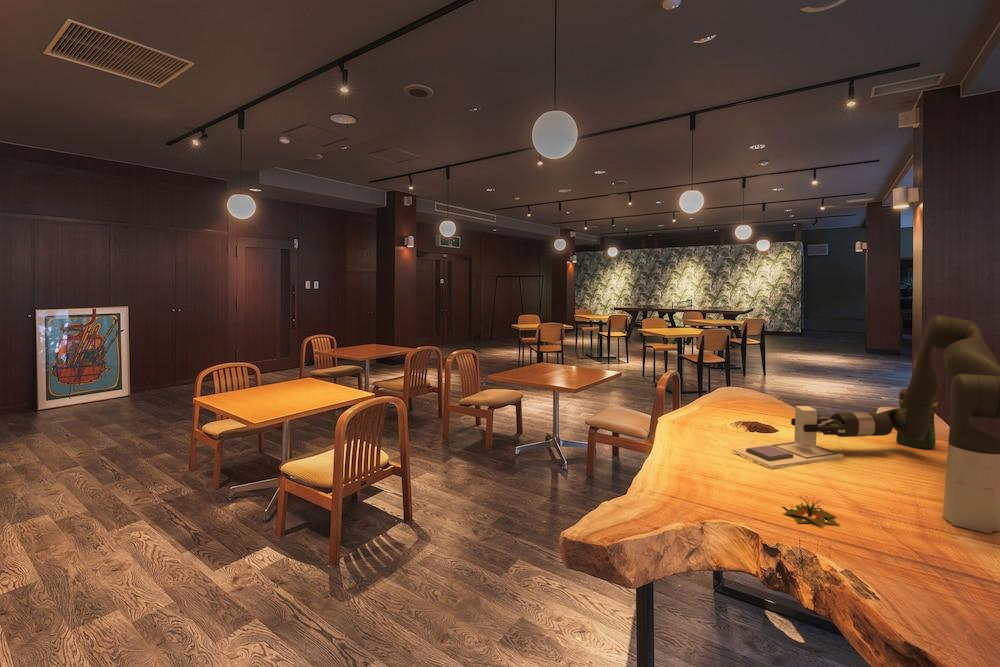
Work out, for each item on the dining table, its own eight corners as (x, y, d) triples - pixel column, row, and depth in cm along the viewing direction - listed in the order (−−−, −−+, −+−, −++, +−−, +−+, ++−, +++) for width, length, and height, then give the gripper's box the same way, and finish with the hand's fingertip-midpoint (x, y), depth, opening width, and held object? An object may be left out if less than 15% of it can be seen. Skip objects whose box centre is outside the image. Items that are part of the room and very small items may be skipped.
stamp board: (800, 443, 164) (800, 436, 164) (843, 458, 149) (843, 451, 149) (732, 452, 155) (732, 445, 155) (771, 469, 141) (771, 461, 141)
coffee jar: (938, 446, 158) (942, 390, 157) (928, 451, 154) (932, 393, 153) (902, 439, 167) (906, 385, 165) (891, 443, 163) (895, 388, 161)
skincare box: (816, 448, 151) (817, 410, 150) (801, 448, 152) (802, 410, 151) (808, 442, 157) (809, 405, 156) (793, 441, 158) (794, 405, 157)
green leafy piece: (792, 529, 108) (793, 509, 107) (771, 505, 120) (772, 487, 119) (852, 532, 106) (853, 512, 106) (825, 508, 118) (826, 489, 117)
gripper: (838, 407, 160) (785, 407, 161) (869, 419, 145) (811, 419, 146) (837, 429, 160) (785, 430, 161) (868, 443, 146) (810, 444, 147)
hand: (797, 425), depth 154 cm, fingers closed on skincare box, 6 cm apart
